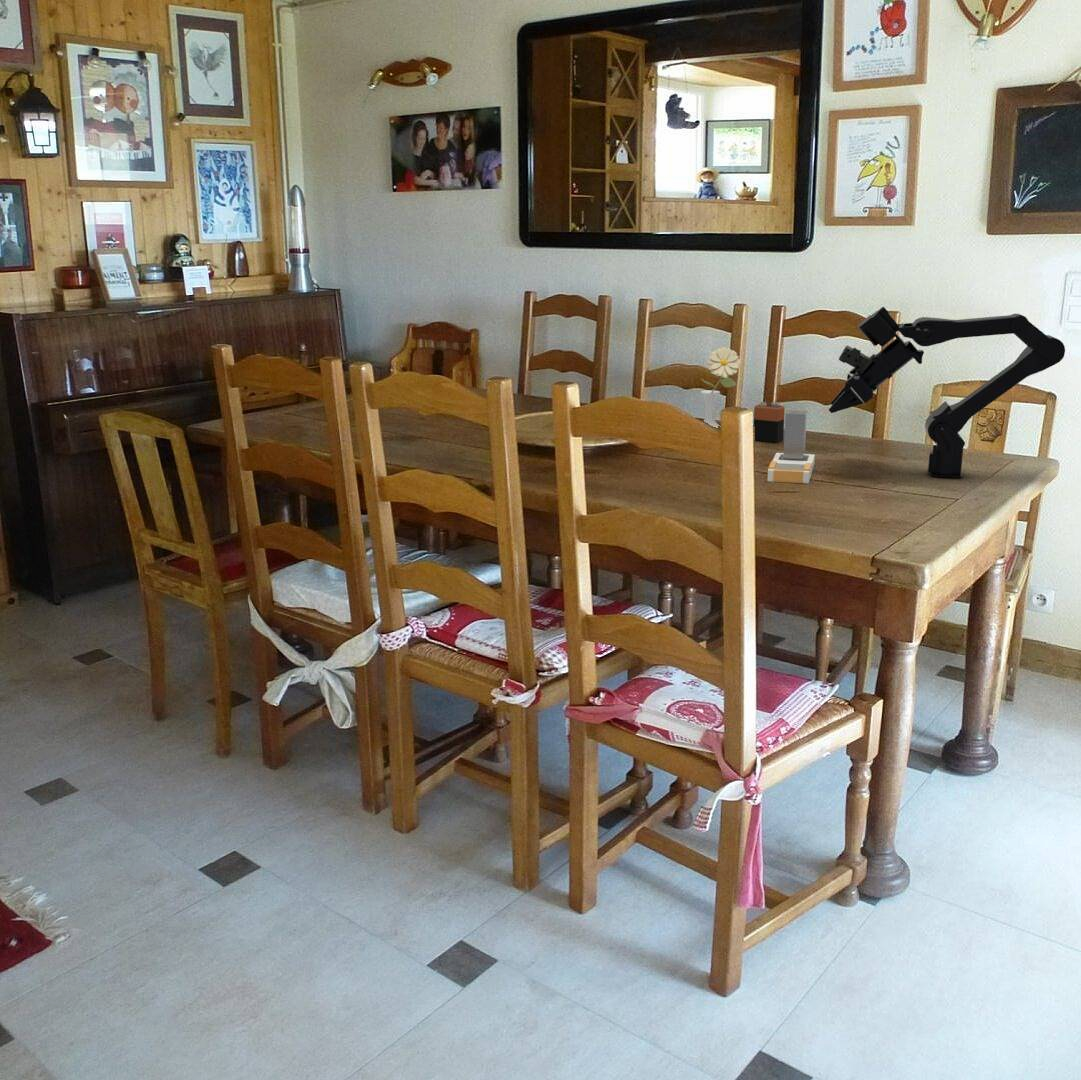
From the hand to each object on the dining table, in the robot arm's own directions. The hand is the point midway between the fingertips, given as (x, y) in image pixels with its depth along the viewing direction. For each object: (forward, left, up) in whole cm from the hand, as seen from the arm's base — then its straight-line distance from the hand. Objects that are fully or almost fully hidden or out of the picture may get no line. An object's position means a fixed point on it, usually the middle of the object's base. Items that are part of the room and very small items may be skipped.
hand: (831, 408), depth 241 cm
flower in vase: (+30, -21, -14) cm, 39 cm away
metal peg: (+8, 0, -14) cm, 16 cm away
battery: (+17, -31, -14) cm, 38 cm away
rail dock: (+8, +5, -14) cm, 17 cm away
